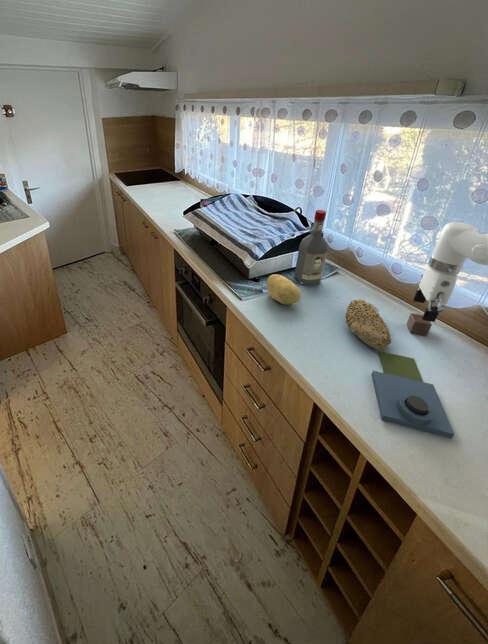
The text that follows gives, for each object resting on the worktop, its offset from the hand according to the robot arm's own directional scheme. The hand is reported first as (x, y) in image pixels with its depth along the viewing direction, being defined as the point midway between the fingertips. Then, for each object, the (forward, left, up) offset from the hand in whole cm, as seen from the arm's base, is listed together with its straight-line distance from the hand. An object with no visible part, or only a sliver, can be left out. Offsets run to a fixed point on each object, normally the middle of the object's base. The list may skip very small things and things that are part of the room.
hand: (422, 310), depth 97 cm
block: (0, 0, -8) cm, 8 cm away
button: (+10, +36, -4) cm, 37 cm away
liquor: (+34, -21, -8) cm, 40 cm away
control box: (+10, +32, -8) cm, 35 cm away
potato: (+43, -3, -8) cm, 43 cm away
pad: (+9, +20, -8) cm, 23 cm away
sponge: (+16, +6, -8) cm, 19 cm away
